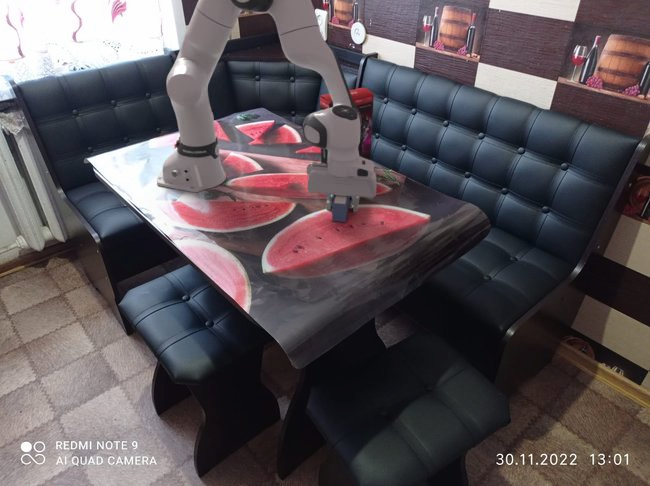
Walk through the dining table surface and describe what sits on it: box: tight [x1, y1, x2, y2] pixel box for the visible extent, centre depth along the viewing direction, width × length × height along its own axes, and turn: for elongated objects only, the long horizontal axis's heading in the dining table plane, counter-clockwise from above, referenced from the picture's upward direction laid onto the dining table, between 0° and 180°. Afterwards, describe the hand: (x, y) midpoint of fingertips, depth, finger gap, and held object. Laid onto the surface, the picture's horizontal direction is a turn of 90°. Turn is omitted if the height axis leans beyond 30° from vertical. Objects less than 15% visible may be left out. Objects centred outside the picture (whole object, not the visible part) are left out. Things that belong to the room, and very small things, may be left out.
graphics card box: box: [319, 86, 375, 163], centre depth 161 cm, size 17×7×27 cm, turn 120°
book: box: [331, 195, 351, 223], centre depth 144 cm, size 4×10×6 cm, turn 172°
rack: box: [326, 195, 361, 213], centre depth 149 cm, size 9×10×8 cm
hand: (341, 206), depth 145 cm, fingers closed on book, 4 cm apart
